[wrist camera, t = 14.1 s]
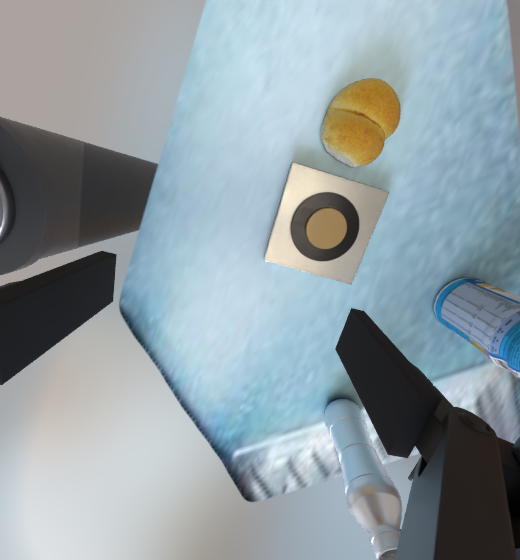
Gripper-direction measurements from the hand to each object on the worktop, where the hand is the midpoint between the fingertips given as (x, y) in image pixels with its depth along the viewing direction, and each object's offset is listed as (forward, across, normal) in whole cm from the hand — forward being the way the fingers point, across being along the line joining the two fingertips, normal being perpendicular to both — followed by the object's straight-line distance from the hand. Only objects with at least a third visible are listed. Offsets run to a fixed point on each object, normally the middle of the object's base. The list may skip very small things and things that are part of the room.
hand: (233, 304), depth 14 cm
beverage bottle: (+23, +33, -2) cm, 41 cm away
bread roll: (+24, +10, +16) cm, 30 cm away
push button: (+23, +10, +4) cm, 25 cm away
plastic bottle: (+23, +23, -26) cm, 41 cm away
